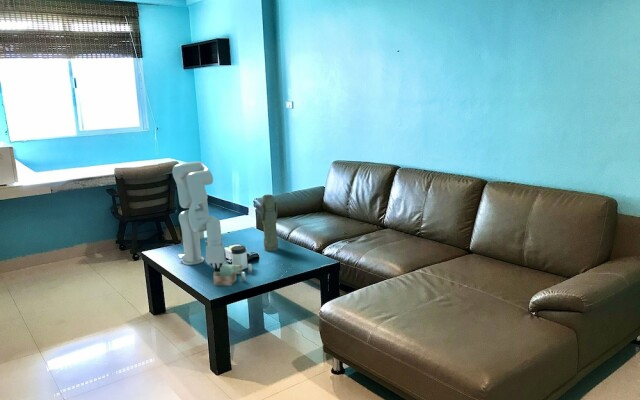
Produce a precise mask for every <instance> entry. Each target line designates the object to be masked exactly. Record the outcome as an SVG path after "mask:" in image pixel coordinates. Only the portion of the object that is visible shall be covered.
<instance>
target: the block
mask: <svg viewBox="0 0 640 400" xmlns="http://www.w3.org/2000/svg"><path fill="white" fill-rule="evenodd" d="M220 272H221V276H228V277H229V276H230V275H231V274H232V273H233V272H235V267H234V264H232V263H230V264H228V263H226V264H224V265H223V266H222V267H221V268H220Z"/></svg>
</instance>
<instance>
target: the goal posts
mask: <svg viewBox="0 0 640 400" xmlns="http://www.w3.org/2000/svg"><path fill="white" fill-rule="evenodd" d="M247 265H248V268H247V269H248V274H249V275H250V274H253V266H252V263H247ZM240 275H241V282H242V283H245V282H246V281H247V280H246V279H247V278H246V272H245V271H242V272H241V274H240Z"/></svg>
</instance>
